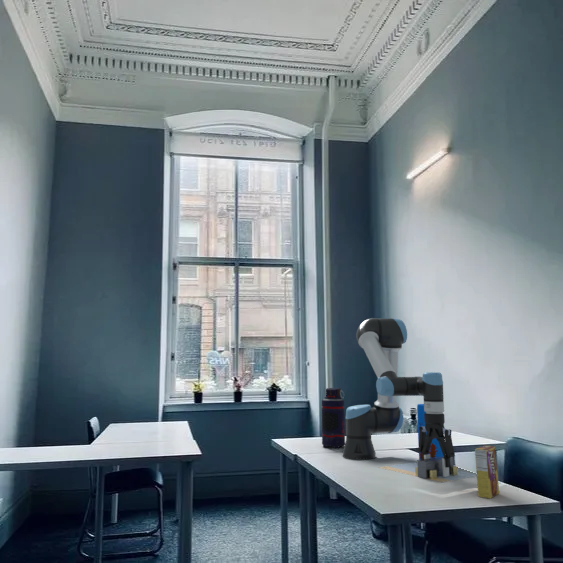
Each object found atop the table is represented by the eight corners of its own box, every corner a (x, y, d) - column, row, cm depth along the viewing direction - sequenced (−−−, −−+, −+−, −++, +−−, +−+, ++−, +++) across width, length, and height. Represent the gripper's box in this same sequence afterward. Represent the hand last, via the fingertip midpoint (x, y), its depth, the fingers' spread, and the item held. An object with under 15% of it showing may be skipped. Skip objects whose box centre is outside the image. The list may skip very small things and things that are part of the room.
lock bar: (445, 472, 204) (445, 456, 205) (454, 473, 200) (453, 457, 201) (417, 476, 195) (417, 460, 196) (426, 478, 192) (425, 461, 192)
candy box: (486, 491, 176) (483, 445, 179) (499, 493, 174) (496, 446, 176) (476, 496, 170) (474, 448, 172) (490, 499, 167) (487, 449, 169)
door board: (378, 470, 212) (378, 467, 212) (415, 464, 224) (415, 461, 224) (442, 485, 186) (442, 482, 186) (480, 477, 198) (480, 475, 198)
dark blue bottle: (338, 449, 263) (337, 388, 268) (318, 447, 269) (317, 388, 274) (350, 445, 275) (349, 387, 279) (330, 443, 281) (329, 387, 286)
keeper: (415, 475, 197) (415, 467, 198) (440, 471, 205) (440, 463, 206) (432, 479, 191) (432, 470, 191) (457, 474, 199) (457, 466, 199)
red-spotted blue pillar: (446, 466, 219) (443, 405, 223) (420, 465, 222) (417, 405, 225) (443, 462, 230) (441, 404, 234) (418, 461, 232) (416, 403, 236)
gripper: (407, 411, 208) (409, 470, 204) (449, 415, 191) (453, 480, 187) (419, 410, 212) (422, 468, 208) (463, 414, 195) (466, 477, 191)
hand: (436, 474), depth 198 cm, fingers open, 8 cm apart
